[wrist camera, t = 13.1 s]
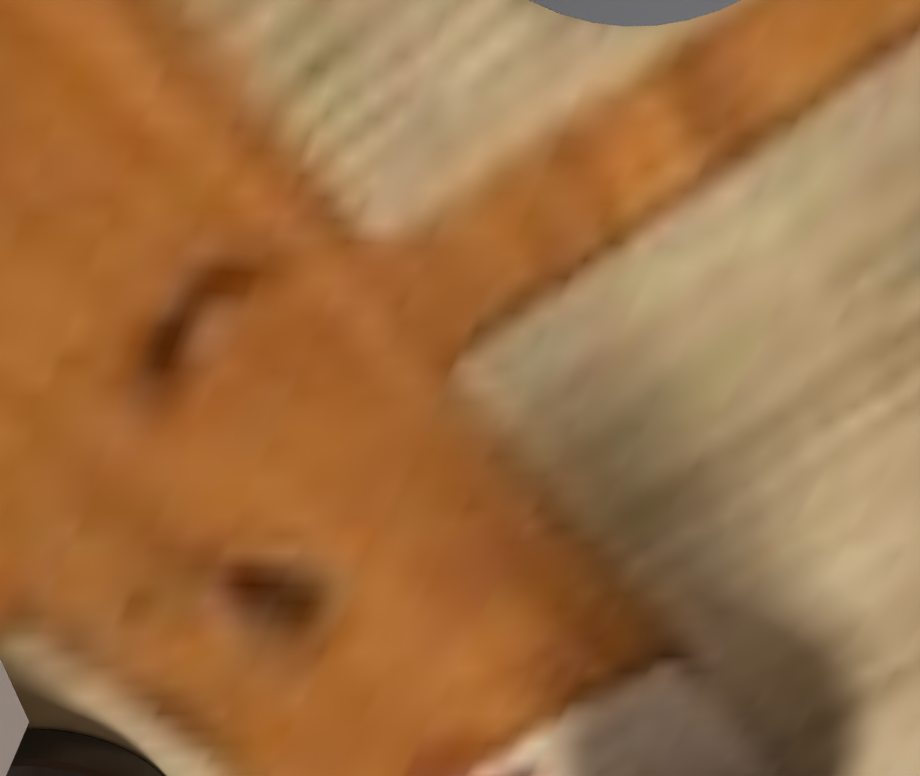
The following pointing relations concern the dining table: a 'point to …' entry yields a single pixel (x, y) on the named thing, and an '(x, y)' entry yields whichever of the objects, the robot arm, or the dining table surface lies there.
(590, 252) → the dining table surface
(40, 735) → the robot arm
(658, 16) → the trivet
